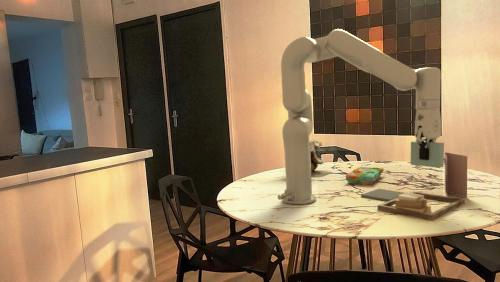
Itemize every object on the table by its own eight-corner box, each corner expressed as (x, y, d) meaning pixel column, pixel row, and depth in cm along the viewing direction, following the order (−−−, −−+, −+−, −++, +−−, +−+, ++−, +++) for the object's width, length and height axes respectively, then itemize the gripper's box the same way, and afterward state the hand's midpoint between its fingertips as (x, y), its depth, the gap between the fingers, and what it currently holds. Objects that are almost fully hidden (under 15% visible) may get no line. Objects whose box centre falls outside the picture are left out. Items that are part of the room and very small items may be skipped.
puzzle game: (345, 173, 178) (357, 165, 195) (345, 184, 178) (358, 175, 195) (373, 175, 172) (383, 166, 189) (373, 186, 172) (383, 176, 190)
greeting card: (442, 190, 157) (442, 152, 156) (464, 191, 155) (464, 152, 153) (444, 198, 147) (444, 157, 145) (467, 199, 144) (468, 157, 142)
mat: (390, 201, 146) (390, 199, 146) (361, 196, 155) (361, 194, 155) (407, 195, 154) (407, 193, 154) (378, 190, 163) (378, 188, 163)
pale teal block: (439, 167, 136) (439, 143, 135) (410, 164, 143) (410, 141, 142) (443, 166, 138) (443, 142, 137) (414, 163, 145) (415, 140, 144)
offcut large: (421, 218, 129) (420, 210, 128) (391, 213, 136) (391, 205, 136) (430, 213, 133) (430, 205, 133) (401, 208, 141) (401, 201, 140)
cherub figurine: (335, 172, 204) (334, 136, 202) (316, 179, 191) (314, 140, 189) (305, 169, 216) (303, 135, 214) (285, 175, 202) (283, 139, 200)
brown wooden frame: (431, 220, 124) (431, 215, 124) (377, 209, 138) (377, 205, 138) (464, 203, 140) (464, 199, 139) (413, 195, 153) (413, 191, 153)
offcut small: (415, 203, 130) (415, 198, 130) (398, 199, 135) (398, 195, 135) (424, 199, 133) (423, 195, 133) (407, 196, 138) (407, 192, 138)
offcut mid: (420, 209, 130) (420, 203, 129) (395, 206, 135) (395, 200, 135) (426, 205, 134) (426, 199, 134) (402, 201, 139) (402, 196, 139)
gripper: (427, 106, 130) (426, 163, 132) (449, 103, 141) (448, 156, 143) (404, 106, 136) (404, 161, 138) (428, 103, 146) (427, 154, 148)
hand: (426, 158), depth 140 cm, fingers closed on pale teal block, 3 cm apart
